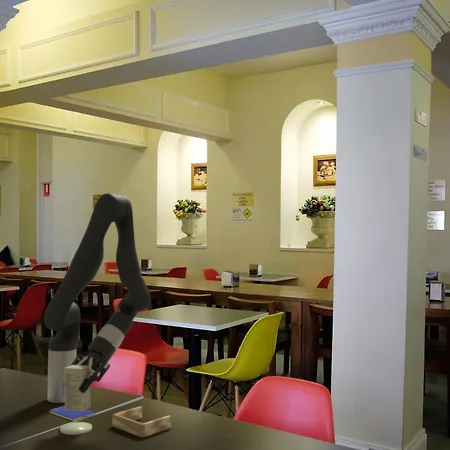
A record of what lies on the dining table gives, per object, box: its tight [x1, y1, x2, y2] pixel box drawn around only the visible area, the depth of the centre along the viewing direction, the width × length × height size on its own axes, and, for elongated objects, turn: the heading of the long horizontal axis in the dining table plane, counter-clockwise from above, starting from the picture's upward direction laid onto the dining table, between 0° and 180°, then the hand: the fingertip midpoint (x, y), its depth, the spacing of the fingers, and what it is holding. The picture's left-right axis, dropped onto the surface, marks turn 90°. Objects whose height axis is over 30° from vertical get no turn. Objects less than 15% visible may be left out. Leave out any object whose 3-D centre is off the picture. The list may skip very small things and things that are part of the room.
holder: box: [111, 405, 172, 438], centre depth 165 cm, size 11×14×4 cm
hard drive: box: [49, 405, 96, 422], centre depth 176 cm, size 2×8×12 cm
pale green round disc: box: [59, 421, 93, 436], centre depth 162 cm, size 9×9×1 cm
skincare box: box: [64, 365, 91, 411], centre depth 162 cm, size 6×4×12 cm
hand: (73, 389), depth 161 cm, fingers closed on skincare box, 7 cm apart
